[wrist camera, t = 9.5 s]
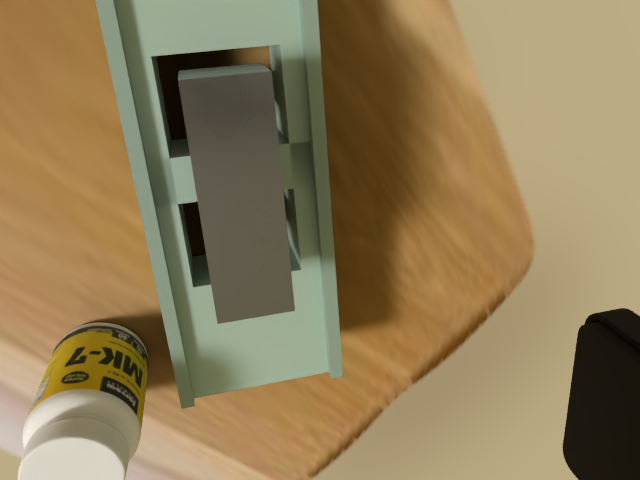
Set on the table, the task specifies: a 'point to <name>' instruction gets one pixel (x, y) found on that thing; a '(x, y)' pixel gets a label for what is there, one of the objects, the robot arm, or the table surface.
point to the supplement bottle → (87, 407)
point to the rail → (178, 187)
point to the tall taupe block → (239, 188)
